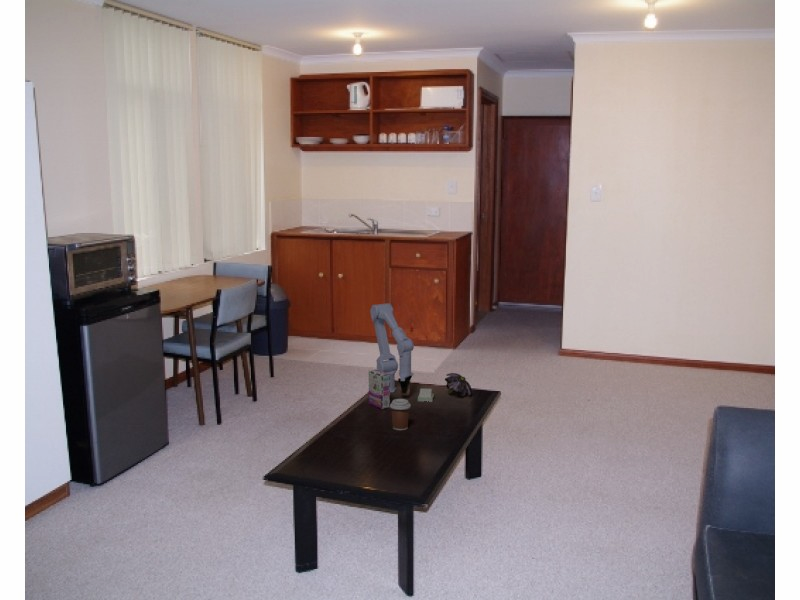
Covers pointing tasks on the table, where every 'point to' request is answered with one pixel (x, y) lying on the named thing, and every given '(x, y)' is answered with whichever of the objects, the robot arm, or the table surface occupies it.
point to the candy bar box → (379, 389)
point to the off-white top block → (425, 392)
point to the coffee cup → (400, 413)
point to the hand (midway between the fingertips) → (405, 391)
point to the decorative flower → (458, 384)
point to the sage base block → (426, 398)
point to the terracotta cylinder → (407, 391)
